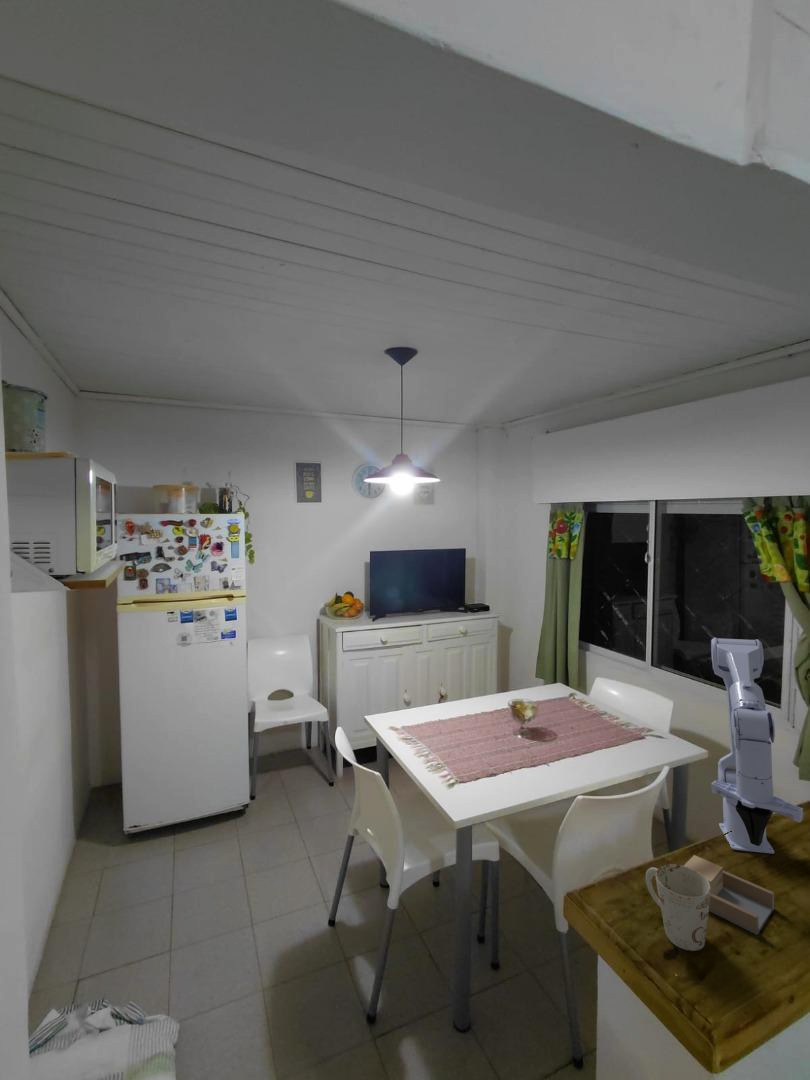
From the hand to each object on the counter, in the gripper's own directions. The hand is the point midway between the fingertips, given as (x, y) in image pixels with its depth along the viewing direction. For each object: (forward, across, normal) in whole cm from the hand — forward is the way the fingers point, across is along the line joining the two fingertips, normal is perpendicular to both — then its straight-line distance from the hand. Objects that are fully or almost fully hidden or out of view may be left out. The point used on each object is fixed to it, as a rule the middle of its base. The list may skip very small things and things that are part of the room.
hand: (756, 842), depth 99 cm
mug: (+9, -6, -21) cm, 24 cm away
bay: (+9, -4, -8) cm, 13 cm away
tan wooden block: (+9, -7, -8) cm, 13 cm away
